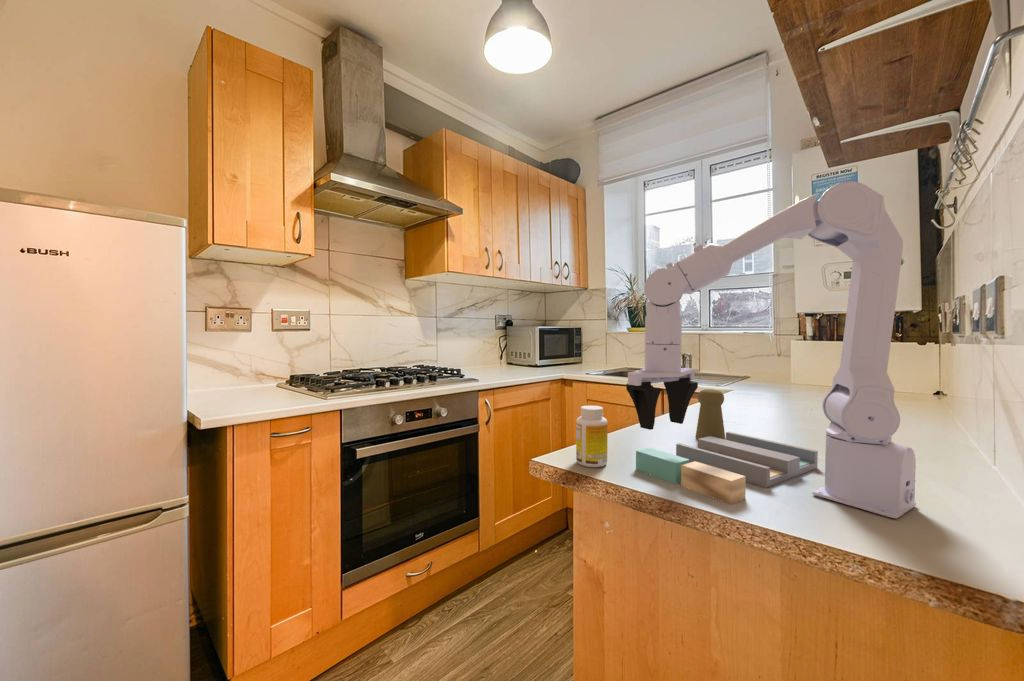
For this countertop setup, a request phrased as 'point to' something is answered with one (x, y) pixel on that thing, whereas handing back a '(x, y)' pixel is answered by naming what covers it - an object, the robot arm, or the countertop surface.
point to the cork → (710, 414)
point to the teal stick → (660, 464)
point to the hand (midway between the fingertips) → (662, 425)
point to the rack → (751, 457)
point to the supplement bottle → (591, 437)
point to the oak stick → (713, 482)
